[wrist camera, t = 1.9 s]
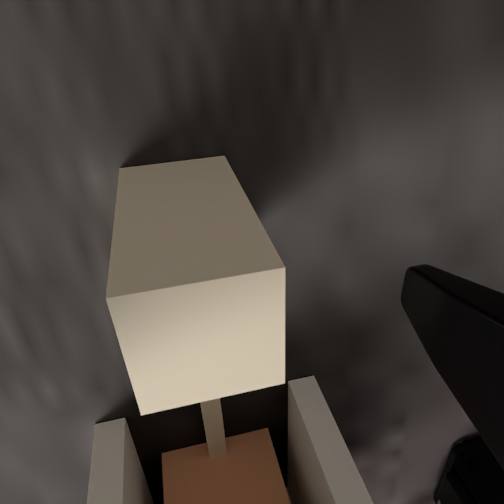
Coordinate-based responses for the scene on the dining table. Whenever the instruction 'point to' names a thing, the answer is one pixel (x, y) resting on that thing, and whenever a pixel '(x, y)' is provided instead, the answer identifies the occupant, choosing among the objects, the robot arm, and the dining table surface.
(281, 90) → the dining table surface
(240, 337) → the cream and brown mallet
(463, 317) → the robot arm
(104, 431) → the white open box
